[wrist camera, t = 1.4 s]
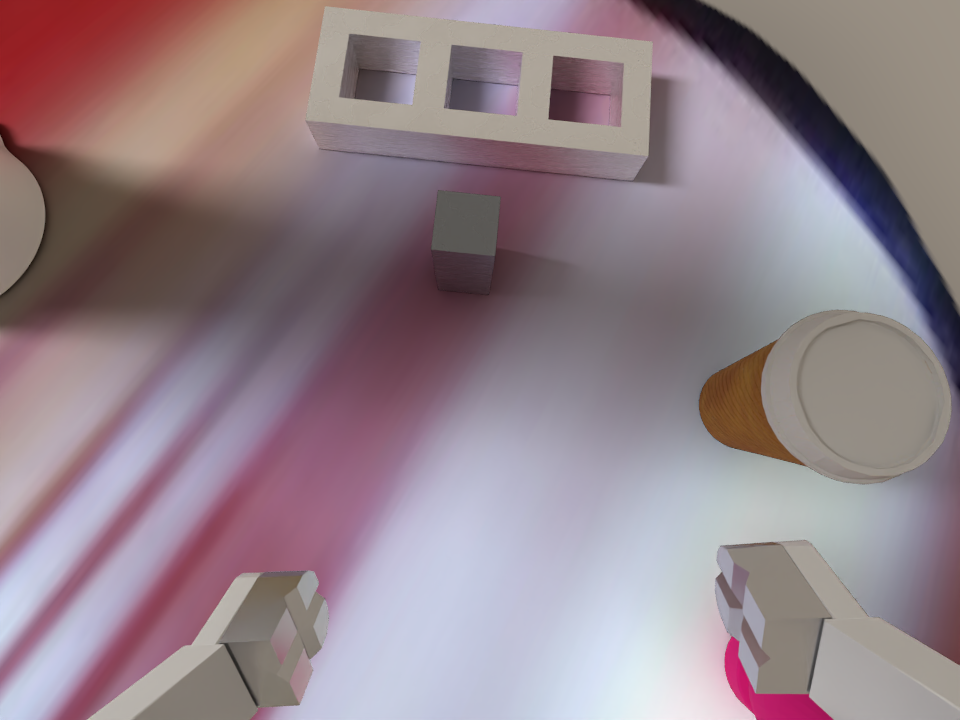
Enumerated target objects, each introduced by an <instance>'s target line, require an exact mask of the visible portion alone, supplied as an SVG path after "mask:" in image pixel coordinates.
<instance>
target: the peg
mask: <svg viewBox="0 0 960 720" xmlns="http://www.w3.org/2000/svg"><path fill="white" fill-rule="evenodd" d="M500 199H501V197H499V196H489V195H479V194H470V193H460V192H450V191H441V190H438V195H437V204H436V212H435V221H434V229H433V238H432V246H431V252H432V257H433V263H434V269H435V274H436V280H437V286H438V290H445V291H455V292H465V293H475V294H485V295H489V290H490V284H491V278H492V272H493V266H494V260H495V253H496V242H497V231H498V220H499V210H500Z"/></svg>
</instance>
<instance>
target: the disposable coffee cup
mask: <svg viewBox="0 0 960 720" xmlns="http://www.w3.org/2000/svg"><path fill="white" fill-rule="evenodd" d="M699 410H700V415H701V418H702V421H703V423H704V425H705V427H706V428H707V430H708V432H709V433H710V434H711V435H712V436H713V437H714V438H715V439H717V440H718V441H719V442H721V443H722V444H724V445H727V446H729V447H732V448H735V449H740V450H744V451H749V452H752V453H756V454H761V455H765V456H769V457H772V458H776V459H780V460H784V461H788V462H792V463H796V464H800V465H804V466H807V467H809V468H811V469H812V470H814V471H816V472H818V473H819V474H821V475H824V476H826V477H829V478H831V479H834V480H837V481H841V482H846V483H856V484H871V483H879V482H884V481H886V480H889V479H891V478H894V477H896V476H899V475H901V474H902V473H905V472H908V471H911V470H914V469H915V468H917V467H919V466H920V465H922V464H923V463H925V462H926V461H927V460H928V459H929V458H930V457H931V456H932V455H933V454H934V453H935V451H936V450H937V449H938V448H939V446H940V445H941V444H942V442H943V440H944V438H945V435H946V433H947V430H948V428H949V423H950V417H951V394H950V389H949V384H948V381H947V378H946V376H945V373H944V370H943V367H942V366H941V364H940V362H939V361H938V359H937V358H936V356H935V355H934V353H933V351H932V350H931V349H930V348H929V347H928V345H927V344H926V343H925V342H924V341H923V340H922V339H921V338H920V337H919V336H918V335H916V334H915V333H914V332H912V331H911V330H910V329H909V328H907V327H906V326H904V325H902V324H900V323H898V322H896V321H894V320H893V319H890V318H887V317H884V316H881V315H876V314H871V313H860V312H856V311H848V310H831V311H824V312H820V313H816V314H813V315H810V316H808V317H806V318H804V319H802V320H800V321H799V322H797V323H795V324H794V325H792V326H791V327H790V328H789V329H788V330H787V331H786V332H784V333H783V334H782V336H781V337H780V338H779V339H778V340H776V341H774V342H773V343H770V344H769V345H767V346H765V347H763V348H761V349H760V350H758V351H756V352H754V353H752V354H750V355H748V356H747V357H744V358H743V359H741V360H739V361H737V362H735V363H734V364H732V365H730V366H728V367H726V368H724V369H723V370H720V371H718V372H717V373H715V374H714V375H712V376H711V377H710V378H709V379H708V380H707V382H706V383H705V385H704V386H703V389H702V391H701V394H700V399H699Z"/></svg>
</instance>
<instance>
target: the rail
mask: <svg viewBox="0 0 960 720" xmlns="http://www.w3.org/2000/svg"><path fill="white" fill-rule="evenodd" d="M652 43H653V42H650V41H640V40H631V39H622V38H613V37H603V36H594V35H585V34H576V33H566V32H557V31H548V30H539V29H529V28H520V27H511V26H502V25H492V24H483V23H474V22H465V21H455V20H446V19H437V18H428V17H418V16H409V15H400V14H391V13H381V12H372V11H363V10H354V9H344V8H335V7H326V6H325V10H324V16H323V22H322V27H321V33H320V39H319V45H318V50H317V56H316V62H315V68H314V73H313V79H312V85H311V91H310V96H309V102H308V108H307V113H306V119H305V121H306V123H307V125H308V127H309V129H310V131H311V133H312V135H313V137H314V139H315V141H316V143H317V145H318V147H319V149H328V150H337V151H347V152H356V153H366V154H376V155H385V156H395V157H405V158H414V159H424V160H434V161H443V162H453V163H463V164H472V165H482V166H491V167H501V168H511V169H520V170H530V171H540V172H549V173H559V174H569V175H578V176H588V177H598V178H607V179H617V180H626V181H633V179H634V178H635V176H636V175H637V173H638V172H639V170H640V168H641V167H642V165H643V164H644V162H645V161H646V159H647V158H648V155H649V127H650V99H651V71H652ZM359 69H369V70H378V71H388V72H397V73H406V74H416V82H415V90H414V97H413V105H407V104H397V103H388V102H378V101H369V100H359V99H354V98H355V92H356V86H357V79H358V73H359ZM453 79H463V80H472V81H482V82H491V83H500V84H510V85H518V89H517V100H516V111H515V116H511V115H502V114H492V113H483V112H473V111H464V110H454V109H449V106H450V97H451V89H452V80H453ZM551 89H557V90H566V91H576V92H585V93H594V94H604V95H610V113H609V126H606V125H597V124H587V123H578V122H568V121H559V120H549V119H548V117H549V104H550V91H551Z"/></svg>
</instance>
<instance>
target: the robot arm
mask: <svg viewBox="0 0 960 720" xmlns="http://www.w3.org/2000/svg"><path fill="white" fill-rule="evenodd" d="M44 226H45V205H44V199H43V195H42V192H41V189H40V187H39V185H38V183H37V181H36V179H35V177H34V176H33V174H32V173H31V172H30V171H29V169H28V168H27V167H26V166H25V165H24V164H23V163H22V162H21V161H19V160H18V159H17V158H16V157H15V156H13V155H12V154H11V153H10V152H9V151H8V150H7V149H6V147H5V146H4V143H3V140H2V138H1V135H0V295H1V294H2V293H4V292H5V291H6V290H8V289H9V288H10V287H11V286H12V285H13V284H14V283H15V282H16V281H17V280H18V279H19V278H20V277H21V275H22V274H23V273H24V272H25V270H26V269H27V268H28V266H29V265H30V263H31V262H32V260H33V258H34V256H35V254H36V252H37V250H38V248H39V245H40V243H41V239H42V236H43V232H44ZM717 562H718V564H719V566H720V568H721V570H722V573H721V574H720V575H719V576H718V577H717V578H716V583H715V593H716V599H717V605H718V609H719V612H720V615H721V618H722V621H723V623H724V625H725V628H726V630H727V632H728V633H729V634H730V635H732V636H733V637H734V638H735V639H737V640H738V641H739V653H738V656H739V659H740V661H741V663H742V665H743V667H744V669H745V672H746V674H747V676H748V678H749V680H750V682H751V685H752V687H753V689H754V691H755V693H756V694H809V697H810V698H811V699H812V700H813V701H814V702H815V703H816V704H817V705H818V706H819V707H820V708H822V709H823V710H824V711H825V712H826V713H827V714H828V715H829V716H830V717H831V718H832V719H833V720H960V665H958V664H956V663H955V662H953V661H951V660H950V659H948V658H946V657H945V656H943V655H941V654H940V653H938V652H936V651H935V650H933V649H931V648H930V647H928V646H926V645H925V644H923V643H921V642H920V641H918V640H916V639H915V638H913V637H911V636H910V635H908V634H906V633H905V632H903V631H901V630H899V629H898V628H896V627H894V626H893V625H891V624H889V623H888V622H886V621H884V620H883V619H881V618H879V617H869V616H868V615H867V614H866V613H865V611H864V610H863V609H862V607H861V606H860V605H859V604H858V602H857V601H856V600H855V599H854V597H853V596H852V595H851V593H850V592H849V591H848V590H847V588H846V587H845V586H844V585H843V583H842V582H841V581H840V579H839V578H838V577H837V576H836V574H835V573H834V572H833V571H832V569H831V568H830V567H829V565H828V564H827V563H826V562H825V560H824V559H823V558H822V556H821V555H820V554H819V553H818V551H817V550H816V549H815V548H814V546H813V545H812V544H811V543H809V542H808V541H806V540H799V541H784V542H776V543H774V542H768V543H754V544H739V545H725V546H720V548H719V550H718V554H717ZM318 584H319V582H318V580H317V578H316V575H315V573H314V572H313V571H280V572H262V573H243V574H241V575H240V576H238V577H237V578H236V579H235V580H234V581H233V583H232V584H231V586H230V587H229V589H228V590H227V592H226V594H225V595H224V597H223V598H222V600H221V601H220V603H219V604H218V606H217V607H216V609H215V610H214V612H213V613H212V615H211V616H210V618H209V619H208V621H207V622H206V624H205V625H204V627H203V628H202V630H201V631H200V633H199V634H198V636H197V638H196V639H195V641H194V642H193V644H192V645H188V646H183V647H182V648H181V649H179V650H178V651H177V652H175V653H174V654H173V655H171V656H170V657H169V658H168V659H166V660H165V661H164V662H162V663H161V664H160V665H158V666H157V667H156V668H154V669H153V670H152V671H150V672H149V673H148V674H147V675H145V676H144V677H143V678H141V679H140V680H139V681H137V682H136V683H135V684H133V685H132V686H131V687H129V688H128V689H127V690H125V691H124V692H123V693H122V694H120V695H119V696H118V697H116V698H115V699H114V700H112V701H111V702H110V703H108V704H107V705H106V706H104V707H103V708H102V709H101V710H99V711H98V712H97V713H95V714H94V715H93V716H91V717H90V718H89V719H87V720H250V719H251V718H252V717H253V716H254V714H255V713H256V712H257V711H258V709H257V708H260V707H277V706H294V705H300V703H301V700H302V698H303V695H304V693H305V690H306V688H307V685H308V682H309V680H310V677H311V675H312V672H313V667H312V664H311V660H310V659H311V658H312V657H313V656H314V655H315V654H316V653H317V652H318V651H319V650H320V649H321V648H322V646H323V643H324V641H325V638H326V635H327V630H328V622H329V614H328V606H327V604H326V601H325V598H323V597H322V596H321V595H319V594H318V593H317V592H315V591H316V589H317V586H318Z"/></svg>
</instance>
